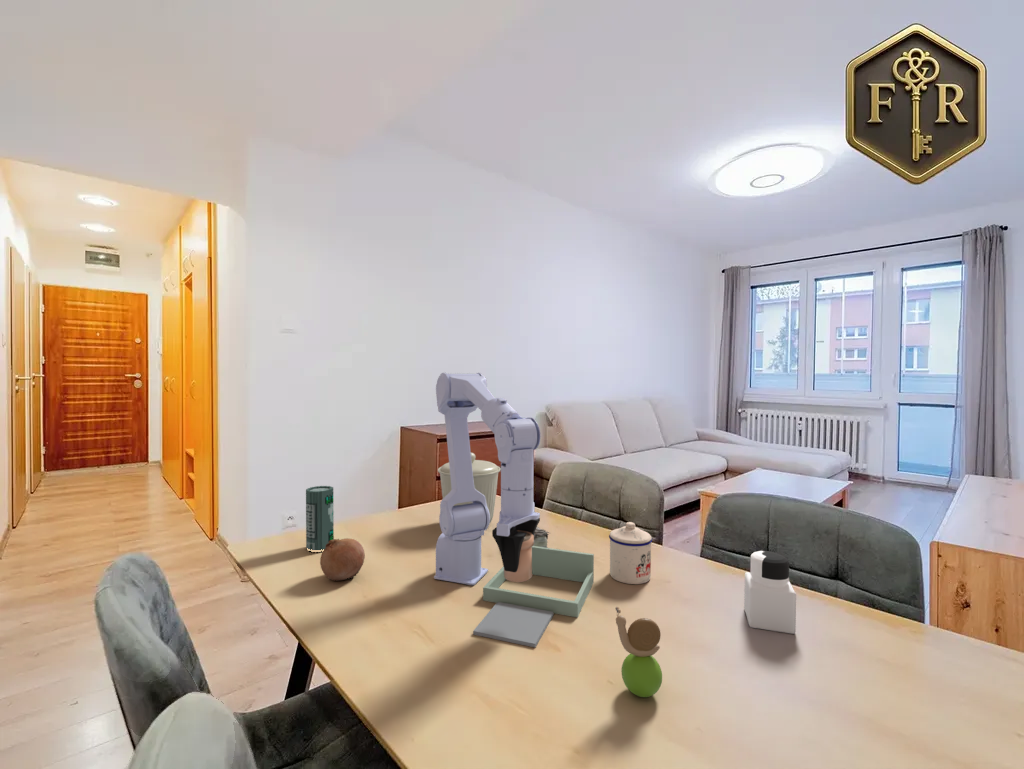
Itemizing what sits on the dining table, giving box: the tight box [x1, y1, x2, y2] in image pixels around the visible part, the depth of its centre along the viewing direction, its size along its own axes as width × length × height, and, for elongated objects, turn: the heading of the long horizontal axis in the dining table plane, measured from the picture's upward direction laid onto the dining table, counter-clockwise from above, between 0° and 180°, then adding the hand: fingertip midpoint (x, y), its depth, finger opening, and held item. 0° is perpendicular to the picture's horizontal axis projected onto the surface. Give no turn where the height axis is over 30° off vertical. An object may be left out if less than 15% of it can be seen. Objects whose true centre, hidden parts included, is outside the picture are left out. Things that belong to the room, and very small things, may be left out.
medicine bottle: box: [743, 550, 797, 635], centre depth 85 cm, size 7×7×12 cm
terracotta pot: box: [504, 530, 534, 583], centre depth 84 cm, size 6×6×7 cm
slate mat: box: [472, 602, 555, 648], centre depth 84 cm, size 11×11×1 cm
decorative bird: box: [533, 526, 550, 548], centre depth 117 cm, size 6×17×8 cm, turn 24°
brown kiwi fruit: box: [319, 537, 366, 582], centre depth 103 cm, size 9×9×10 cm
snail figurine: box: [615, 606, 663, 698], centre depth 66 cm, size 5×6×12 cm
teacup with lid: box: [608, 521, 653, 585], centre depth 105 cm, size 12×9×12 cm
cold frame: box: [482, 546, 595, 619], centre depth 97 cm, size 19×16×6 cm
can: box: [305, 485, 335, 550], centre depth 120 cm, size 6×6×15 cm
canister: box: [437, 452, 501, 524], centre depth 138 cm, size 18×18×21 cm
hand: (516, 564), depth 84 cm, fingers closed on terracotta pot, 6 cm apart
